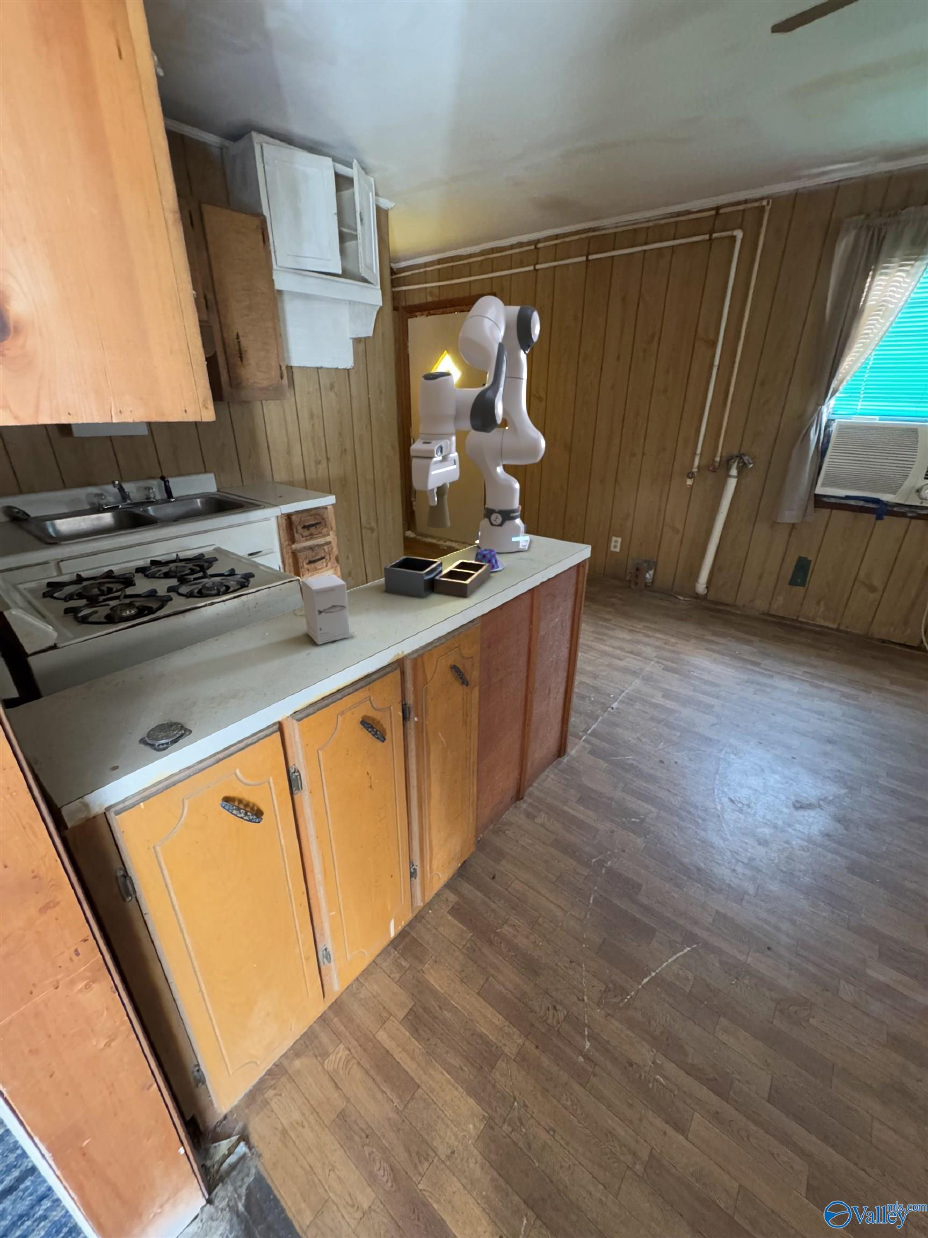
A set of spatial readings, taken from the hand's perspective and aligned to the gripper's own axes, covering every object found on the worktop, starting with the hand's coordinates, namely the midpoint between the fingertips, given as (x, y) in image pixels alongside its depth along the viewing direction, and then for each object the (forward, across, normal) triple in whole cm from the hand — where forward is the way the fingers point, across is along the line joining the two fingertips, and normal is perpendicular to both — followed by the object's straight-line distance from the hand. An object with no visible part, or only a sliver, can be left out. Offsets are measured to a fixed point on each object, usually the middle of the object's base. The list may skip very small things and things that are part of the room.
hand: (438, 503), depth 127 cm
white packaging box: (+23, +36, -10) cm, 44 cm away
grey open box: (+23, +2, -6) cm, 24 cm away
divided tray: (+23, -6, +5) cm, 24 cm away
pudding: (+23, -23, +5) cm, 33 cm away
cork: (+6, 0, 0) cm, 6 cm away
